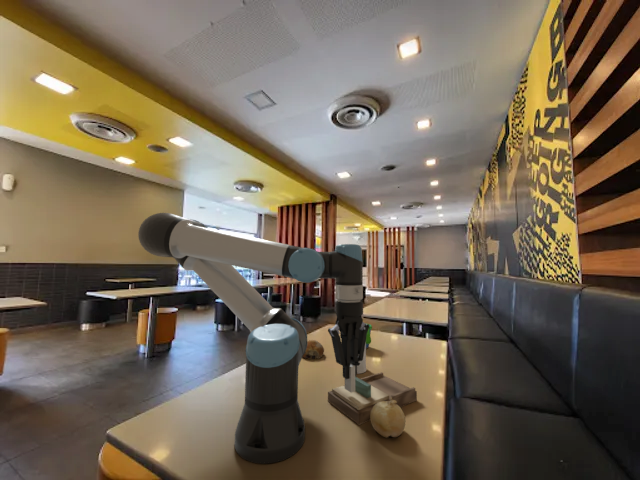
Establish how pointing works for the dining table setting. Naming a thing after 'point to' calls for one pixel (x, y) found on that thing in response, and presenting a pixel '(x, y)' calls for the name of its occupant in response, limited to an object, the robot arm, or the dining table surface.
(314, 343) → the bread roll
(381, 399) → the cover
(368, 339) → the snack cup
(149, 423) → the dining table surface
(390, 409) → the onion
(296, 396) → the robot arm
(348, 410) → the brown sliding lid box
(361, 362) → the mug
